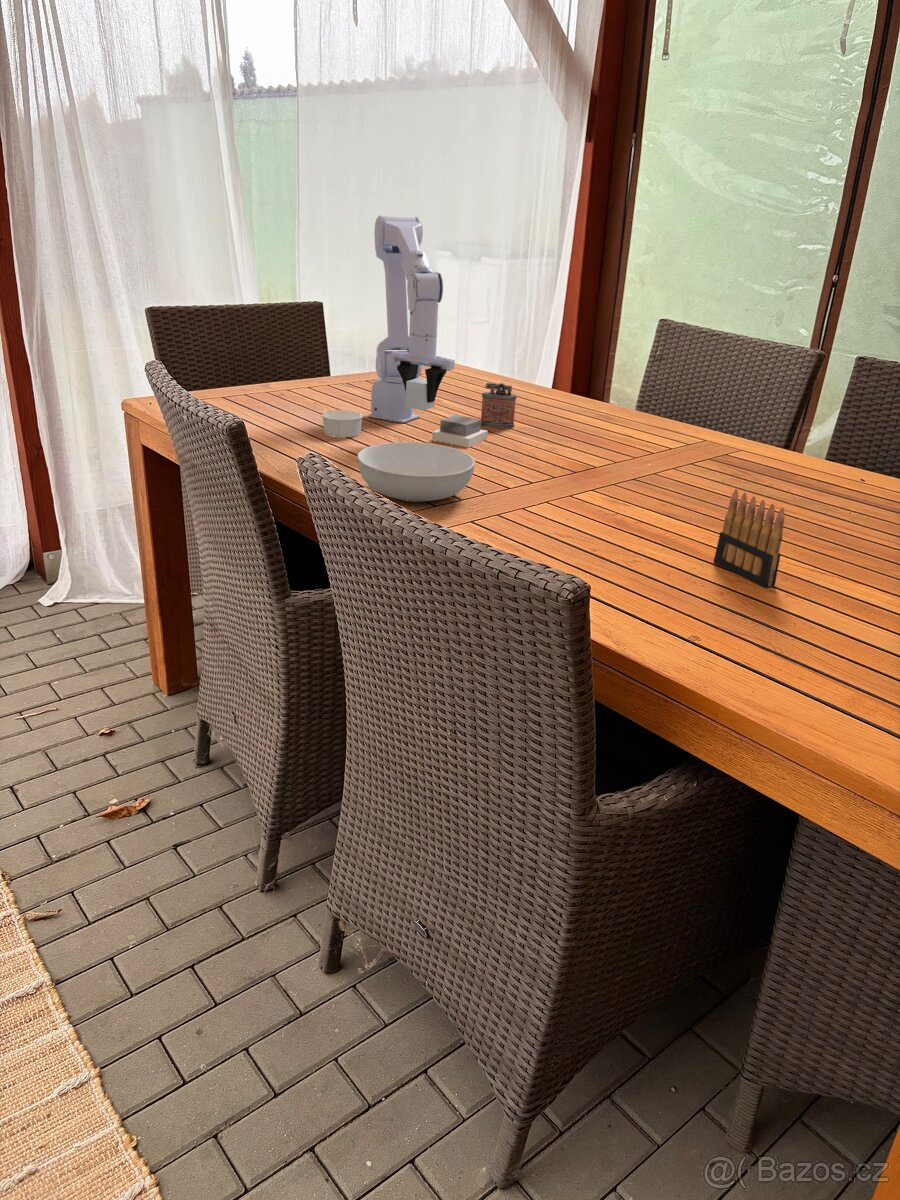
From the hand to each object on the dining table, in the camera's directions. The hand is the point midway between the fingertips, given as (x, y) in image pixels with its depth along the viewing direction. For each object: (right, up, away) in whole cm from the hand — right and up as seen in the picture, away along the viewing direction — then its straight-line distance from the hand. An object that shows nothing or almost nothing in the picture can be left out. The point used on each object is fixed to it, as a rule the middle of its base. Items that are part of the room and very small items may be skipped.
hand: (420, 399), depth 190 cm
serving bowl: (0, -24, -30) cm, 38 cm away
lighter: (+17, -2, +19) cm, 26 cm away
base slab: (+8, -8, +6) cm, 13 cm away
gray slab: (+9, -6, +5) cm, 12 cm away
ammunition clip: (+50, -39, -57) cm, 85 cm away
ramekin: (-17, -6, +6) cm, 19 cm away
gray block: (0, -1, +1) cm, 2 cm away
